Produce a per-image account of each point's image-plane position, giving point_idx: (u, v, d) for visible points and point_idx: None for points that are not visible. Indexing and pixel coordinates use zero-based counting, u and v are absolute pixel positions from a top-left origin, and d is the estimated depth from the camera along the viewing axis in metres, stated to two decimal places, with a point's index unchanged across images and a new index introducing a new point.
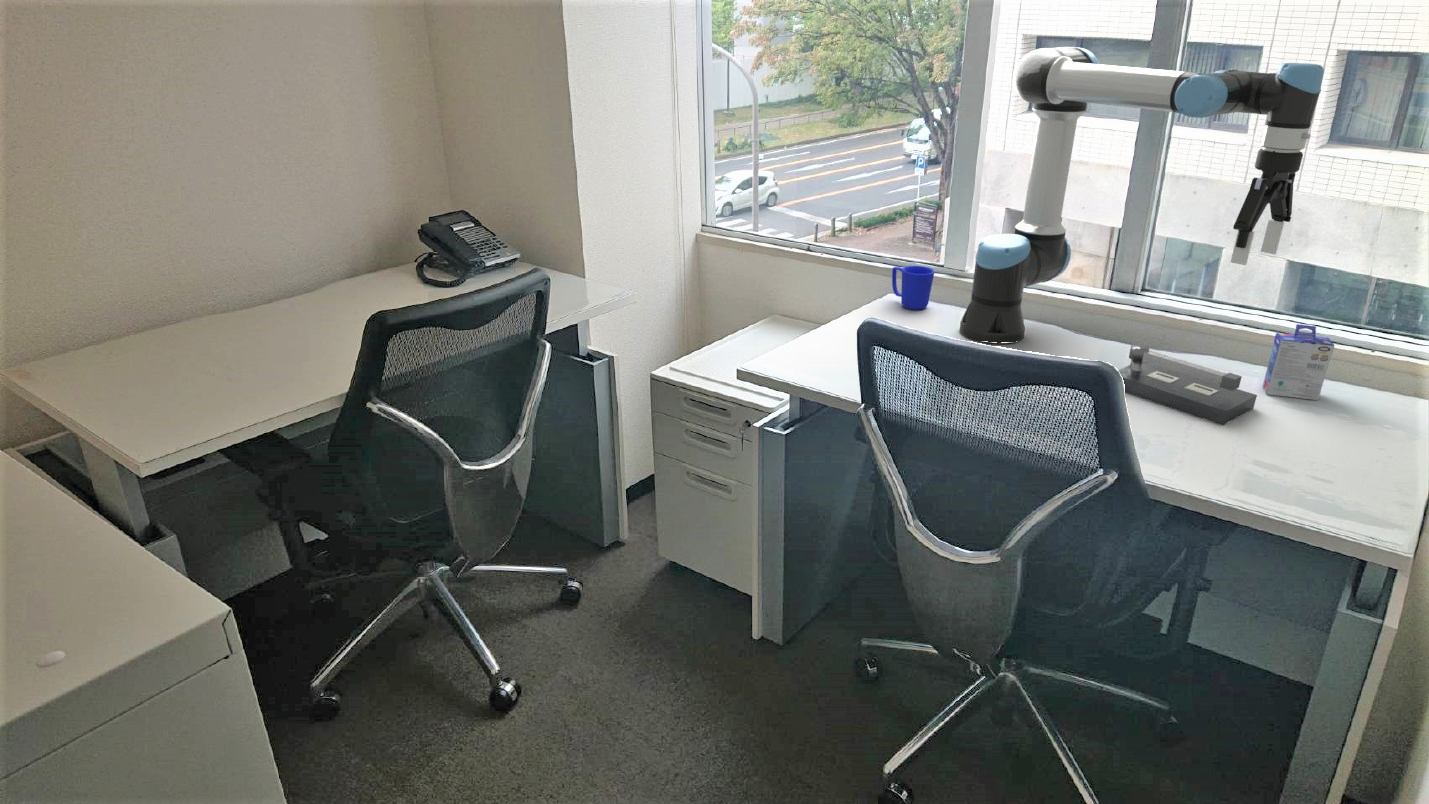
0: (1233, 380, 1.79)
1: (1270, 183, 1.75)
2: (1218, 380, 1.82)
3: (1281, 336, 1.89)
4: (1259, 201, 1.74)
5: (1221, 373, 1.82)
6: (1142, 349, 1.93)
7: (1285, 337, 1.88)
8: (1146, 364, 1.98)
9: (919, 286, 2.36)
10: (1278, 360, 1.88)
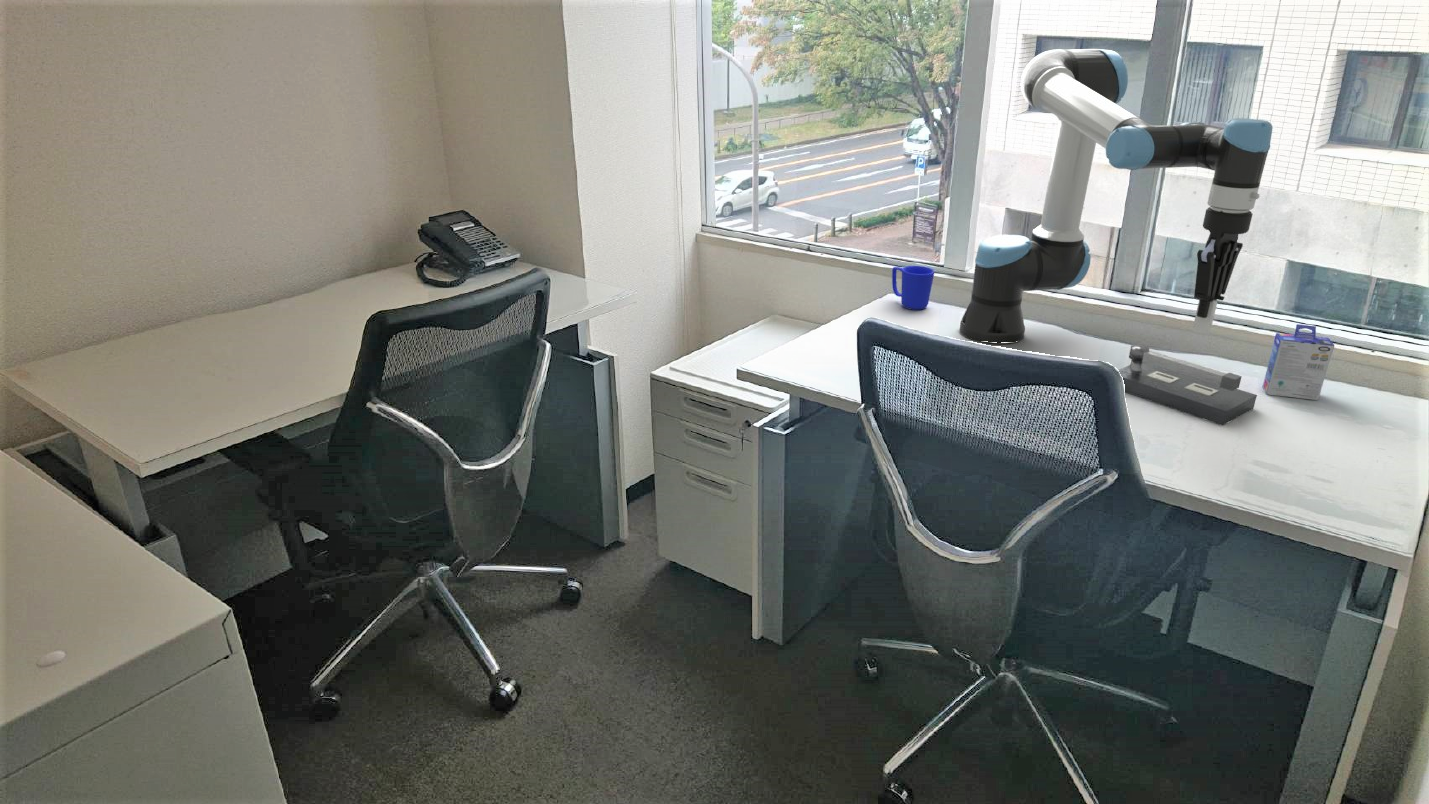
0: (1233, 380, 1.79)
1: (1218, 247, 1.66)
2: (1218, 380, 1.82)
3: (1281, 336, 1.89)
4: (1211, 272, 1.67)
5: (1221, 373, 1.82)
6: (1142, 349, 1.93)
7: (1285, 337, 1.88)
8: (1146, 364, 1.98)
9: (919, 286, 2.36)
10: (1278, 360, 1.88)
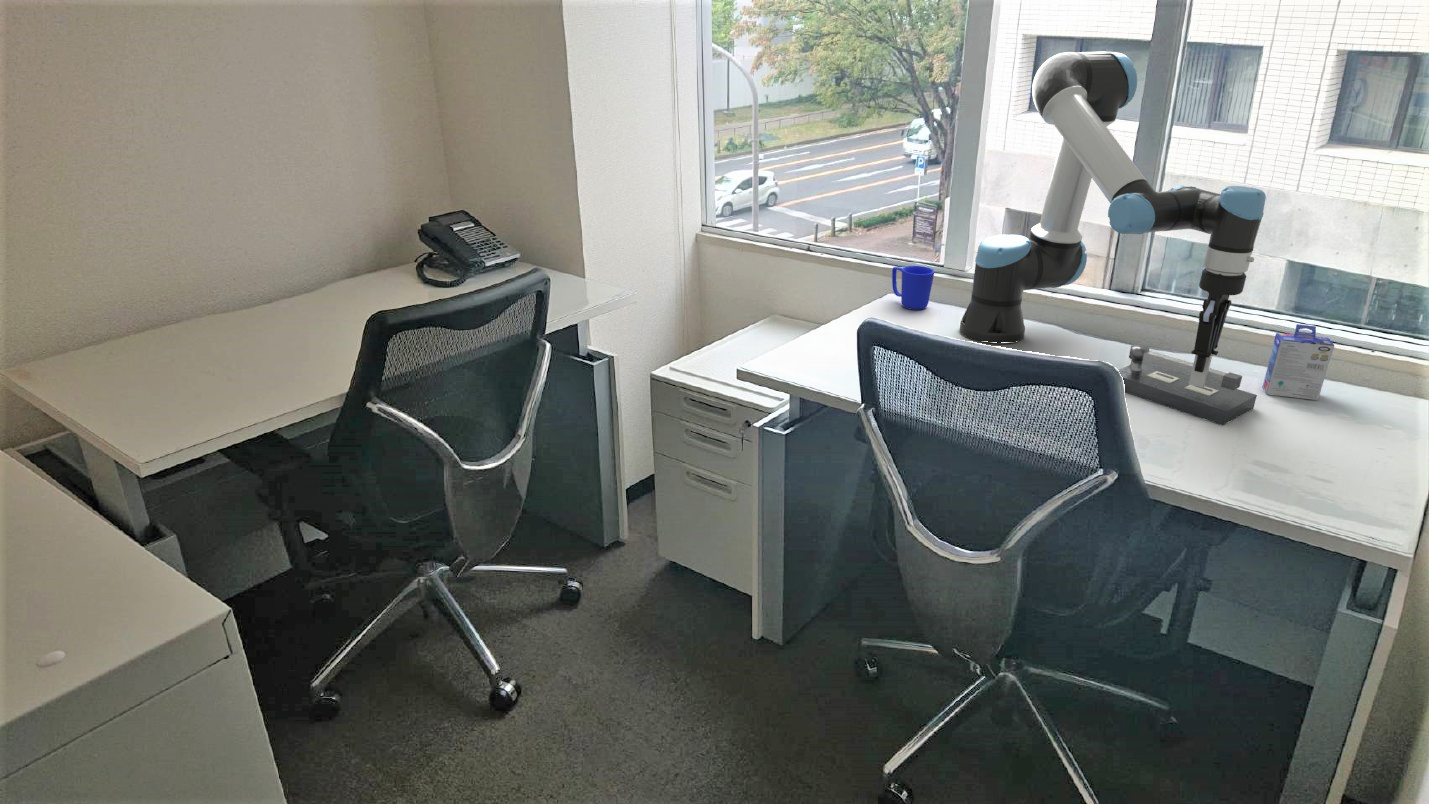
0: (1234, 380, 1.79)
1: (1217, 307, 1.74)
2: (1218, 380, 1.82)
3: (1281, 336, 1.89)
4: (1211, 331, 1.76)
5: (1221, 373, 1.82)
6: (1142, 349, 1.93)
7: (1285, 337, 1.88)
8: (1146, 364, 1.98)
9: (919, 286, 2.36)
10: (1278, 360, 1.88)
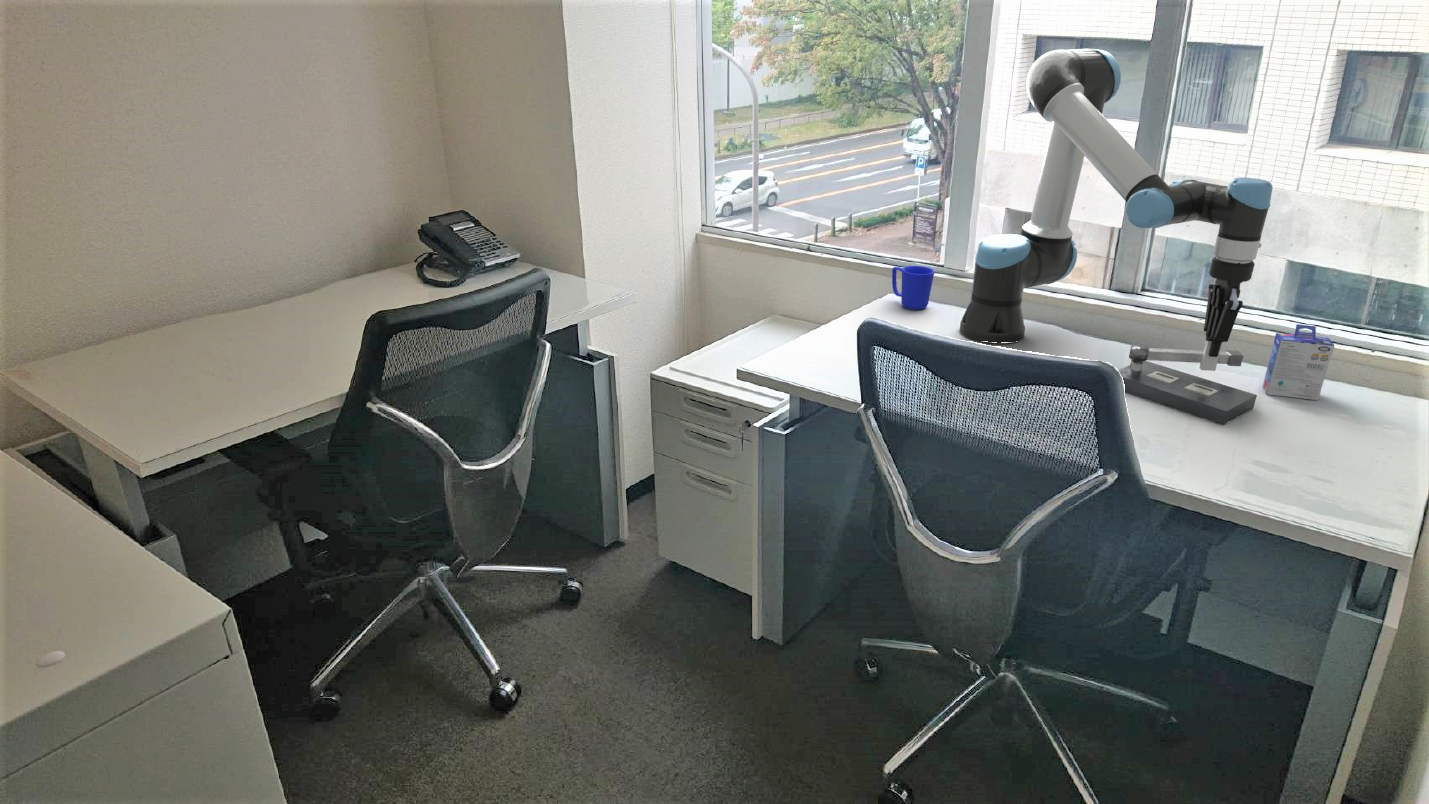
0: (1241, 356, 1.91)
1: None
2: (1225, 360, 1.92)
3: (1281, 336, 1.89)
4: None
5: (1224, 353, 1.92)
6: (1144, 348, 1.93)
7: (1285, 337, 1.88)
8: (1146, 364, 1.98)
9: (919, 286, 2.36)
10: (1278, 360, 1.88)
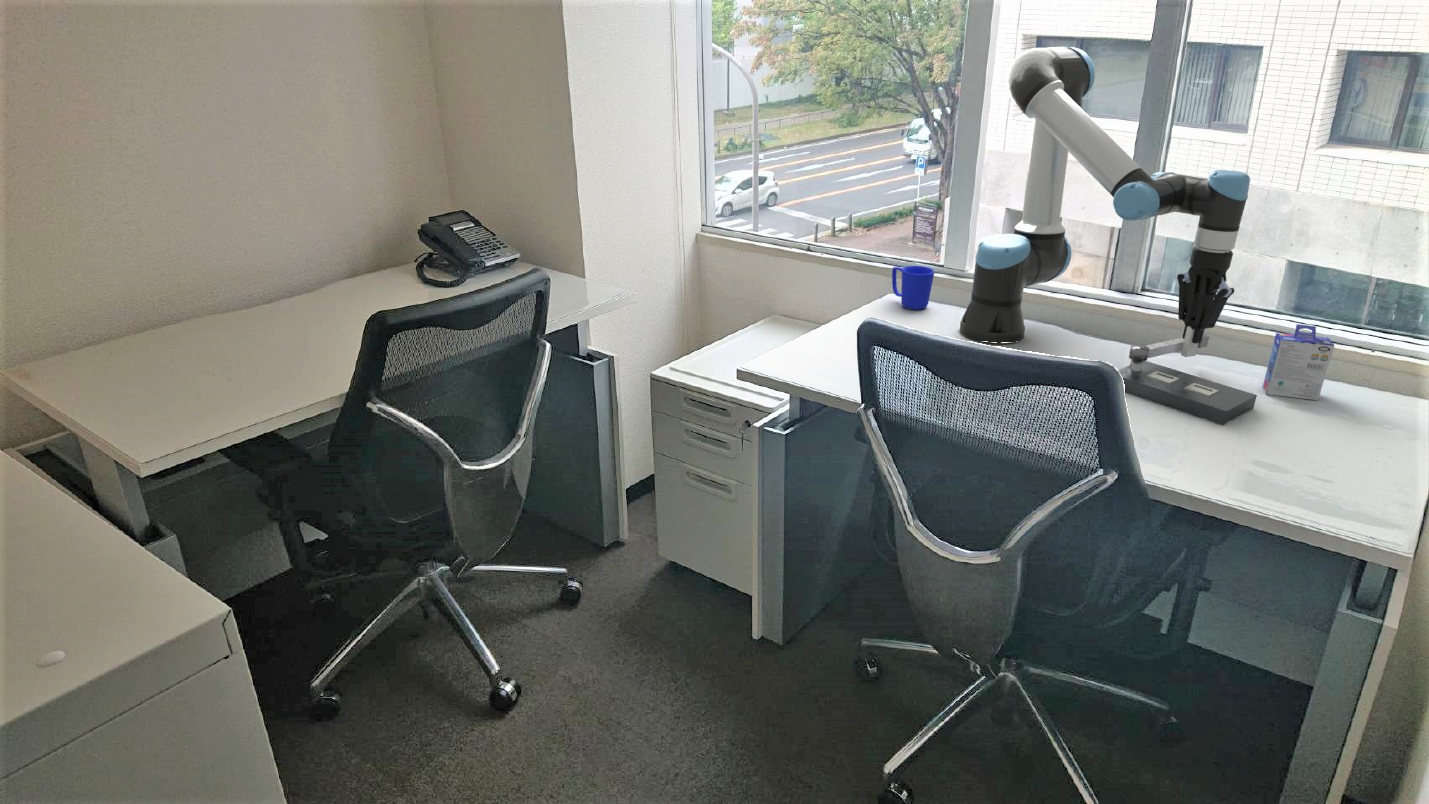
0: (1208, 337, 2.01)
1: None
2: None
3: (1281, 336, 1.89)
4: None
5: None
6: (1145, 347, 1.94)
7: (1285, 337, 1.88)
8: (1146, 364, 1.98)
9: (919, 286, 2.36)
10: (1278, 360, 1.88)
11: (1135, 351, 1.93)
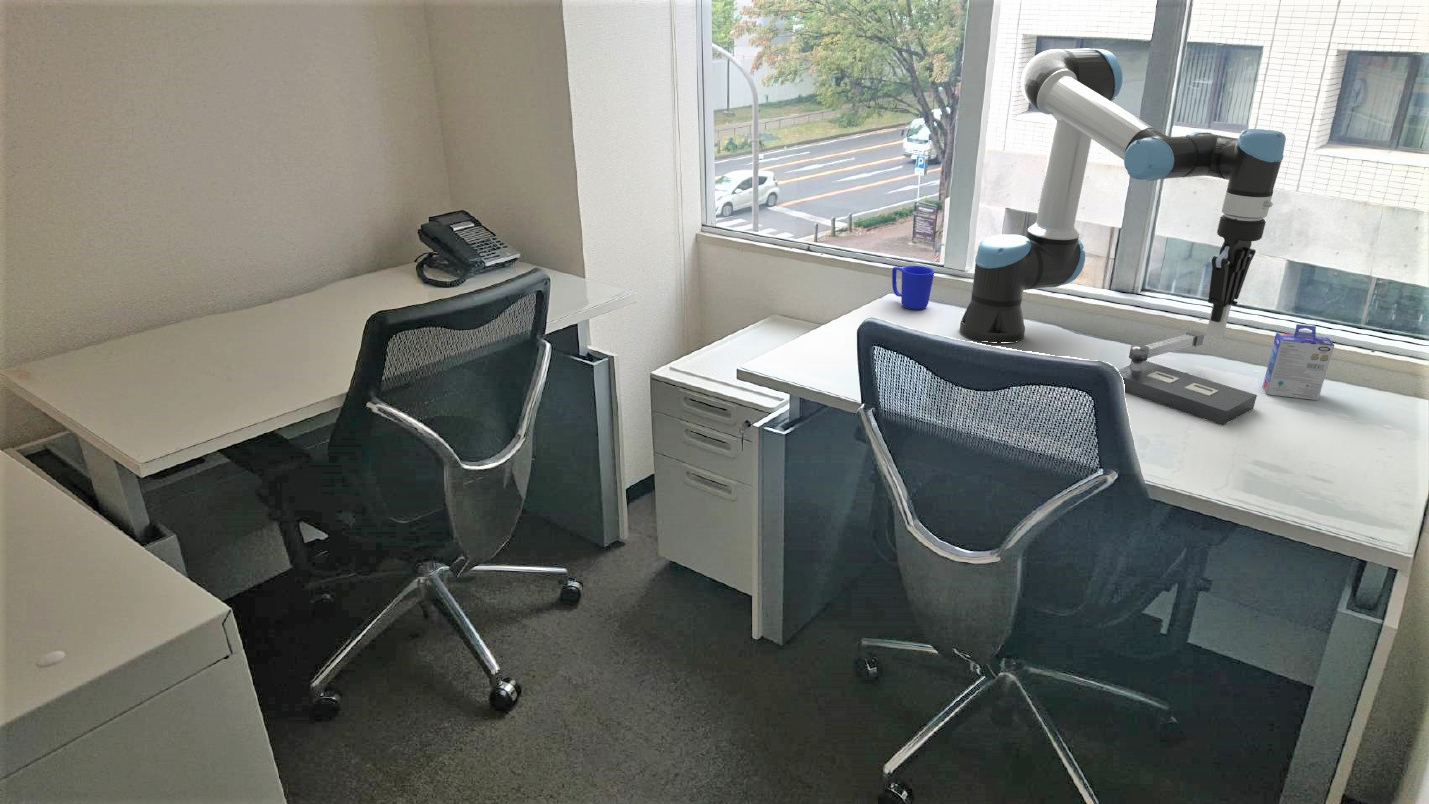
0: (1203, 335, 2.02)
1: (1232, 253, 1.71)
2: (1192, 342, 2.02)
3: (1281, 336, 1.89)
4: (1225, 278, 1.72)
5: (1189, 336, 2.02)
6: (1145, 347, 1.94)
7: (1285, 337, 1.88)
8: (1146, 364, 1.98)
9: (919, 286, 2.36)
10: (1278, 360, 1.88)
11: (1136, 351, 1.93)
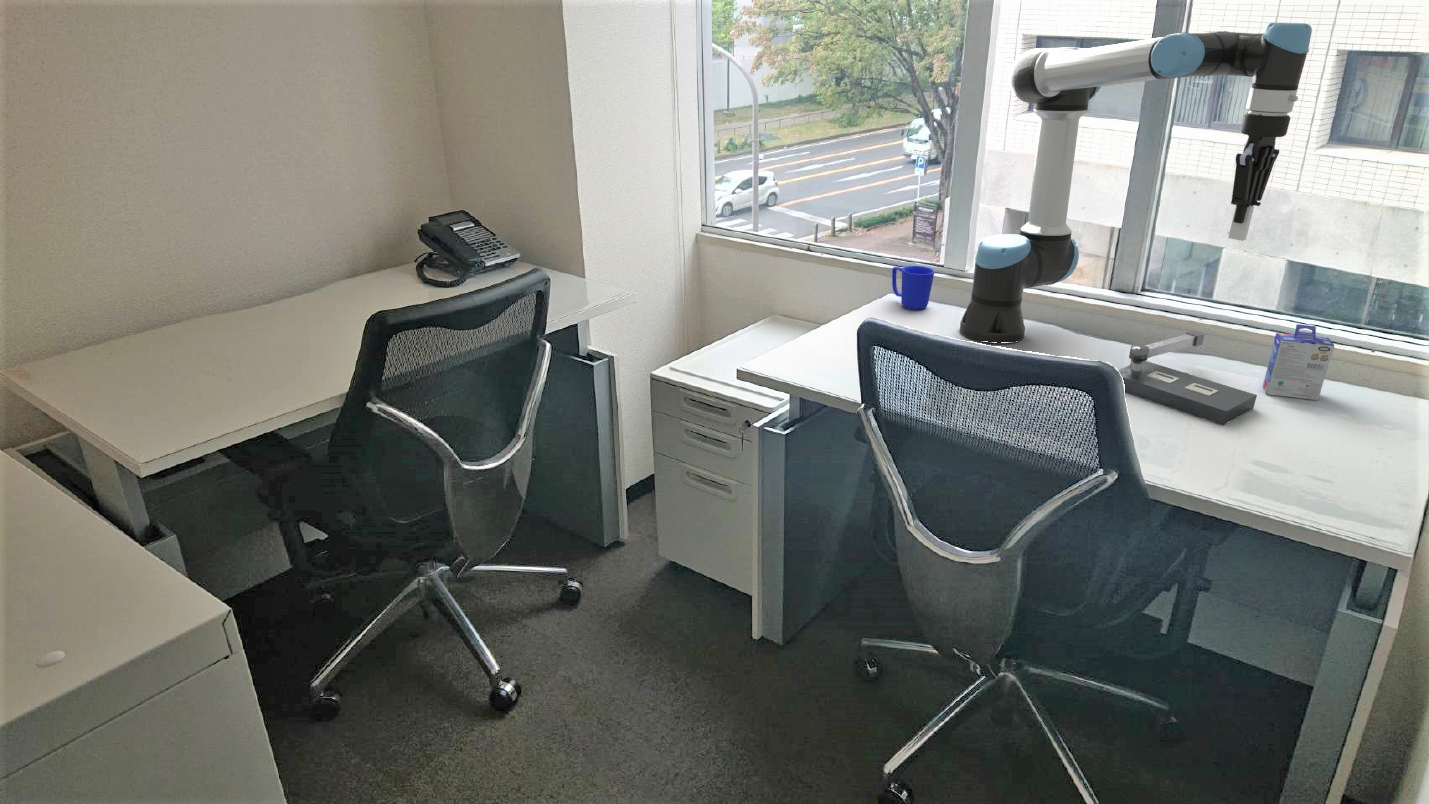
0: (1203, 335, 2.02)
1: (1256, 150, 1.70)
2: (1192, 342, 2.02)
3: (1281, 336, 1.89)
4: (1249, 176, 1.71)
5: (1189, 336, 2.02)
6: (1145, 347, 1.94)
7: (1285, 336, 1.88)
8: (1146, 364, 1.98)
9: (919, 286, 2.36)
10: (1278, 360, 1.88)
11: (1136, 351, 1.93)
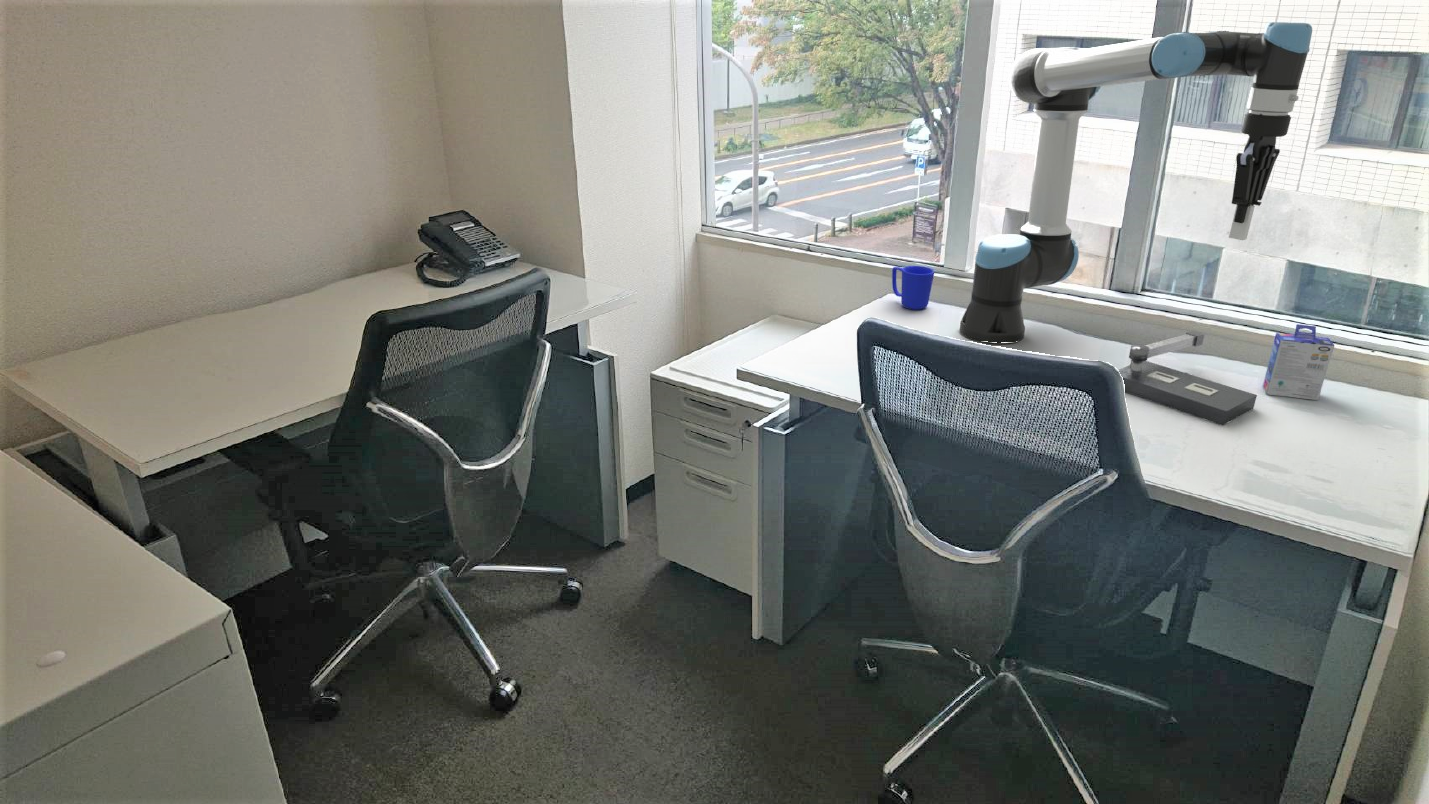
0: (1203, 335, 2.02)
1: (1257, 150, 1.70)
2: (1192, 342, 2.02)
3: (1281, 336, 1.89)
4: (1250, 175, 1.71)
5: (1189, 336, 2.02)
6: (1145, 347, 1.94)
7: (1285, 337, 1.88)
8: (1146, 364, 1.98)
9: (919, 286, 2.36)
10: (1278, 360, 1.88)
11: (1136, 351, 1.93)
